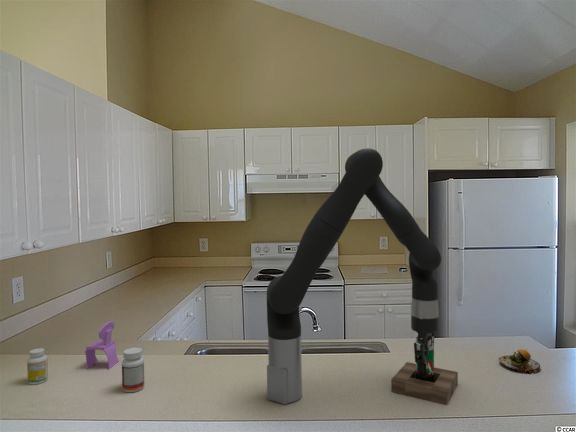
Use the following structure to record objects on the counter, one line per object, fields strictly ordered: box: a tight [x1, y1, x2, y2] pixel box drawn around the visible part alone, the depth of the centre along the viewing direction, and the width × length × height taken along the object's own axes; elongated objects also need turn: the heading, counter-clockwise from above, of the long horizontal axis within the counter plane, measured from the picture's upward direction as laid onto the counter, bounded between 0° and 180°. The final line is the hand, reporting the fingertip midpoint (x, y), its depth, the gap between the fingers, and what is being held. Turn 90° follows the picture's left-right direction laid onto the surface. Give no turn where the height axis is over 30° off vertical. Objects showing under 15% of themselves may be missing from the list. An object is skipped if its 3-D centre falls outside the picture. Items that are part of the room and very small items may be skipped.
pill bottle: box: [121, 347, 145, 393], centre depth 122 cm, size 6×6×11 cm
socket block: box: [390, 361, 459, 406], centre depth 120 cm, size 15×15×4 cm
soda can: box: [415, 344, 435, 383], centre depth 120 cm, size 5×5×12 cm
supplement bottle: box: [26, 347, 49, 385], centre depth 128 cm, size 5×5×10 cm
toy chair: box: [84, 320, 120, 370], centre depth 140 cm, size 8×9×15 cm
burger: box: [498, 348, 541, 375], centre depth 134 cm, size 12×12×8 cm
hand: (424, 371), depth 120 cm, fingers closed on soda can, 5 cm apart
